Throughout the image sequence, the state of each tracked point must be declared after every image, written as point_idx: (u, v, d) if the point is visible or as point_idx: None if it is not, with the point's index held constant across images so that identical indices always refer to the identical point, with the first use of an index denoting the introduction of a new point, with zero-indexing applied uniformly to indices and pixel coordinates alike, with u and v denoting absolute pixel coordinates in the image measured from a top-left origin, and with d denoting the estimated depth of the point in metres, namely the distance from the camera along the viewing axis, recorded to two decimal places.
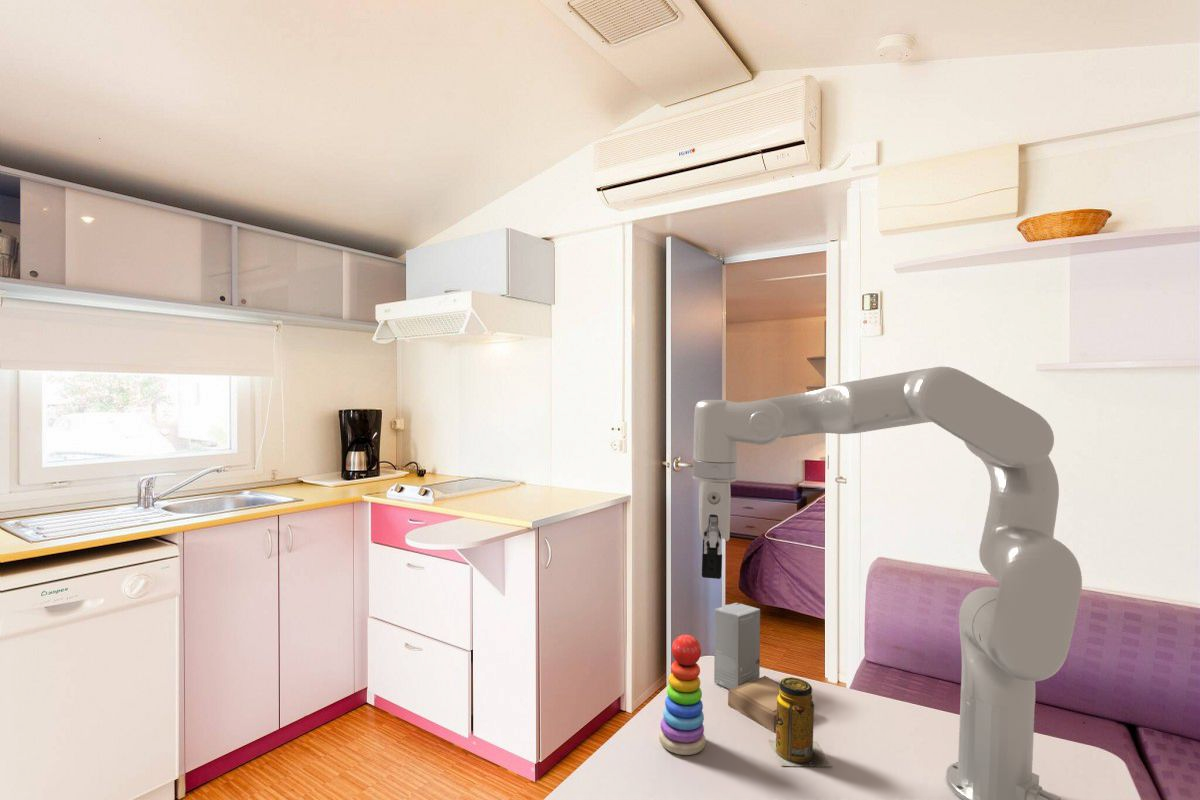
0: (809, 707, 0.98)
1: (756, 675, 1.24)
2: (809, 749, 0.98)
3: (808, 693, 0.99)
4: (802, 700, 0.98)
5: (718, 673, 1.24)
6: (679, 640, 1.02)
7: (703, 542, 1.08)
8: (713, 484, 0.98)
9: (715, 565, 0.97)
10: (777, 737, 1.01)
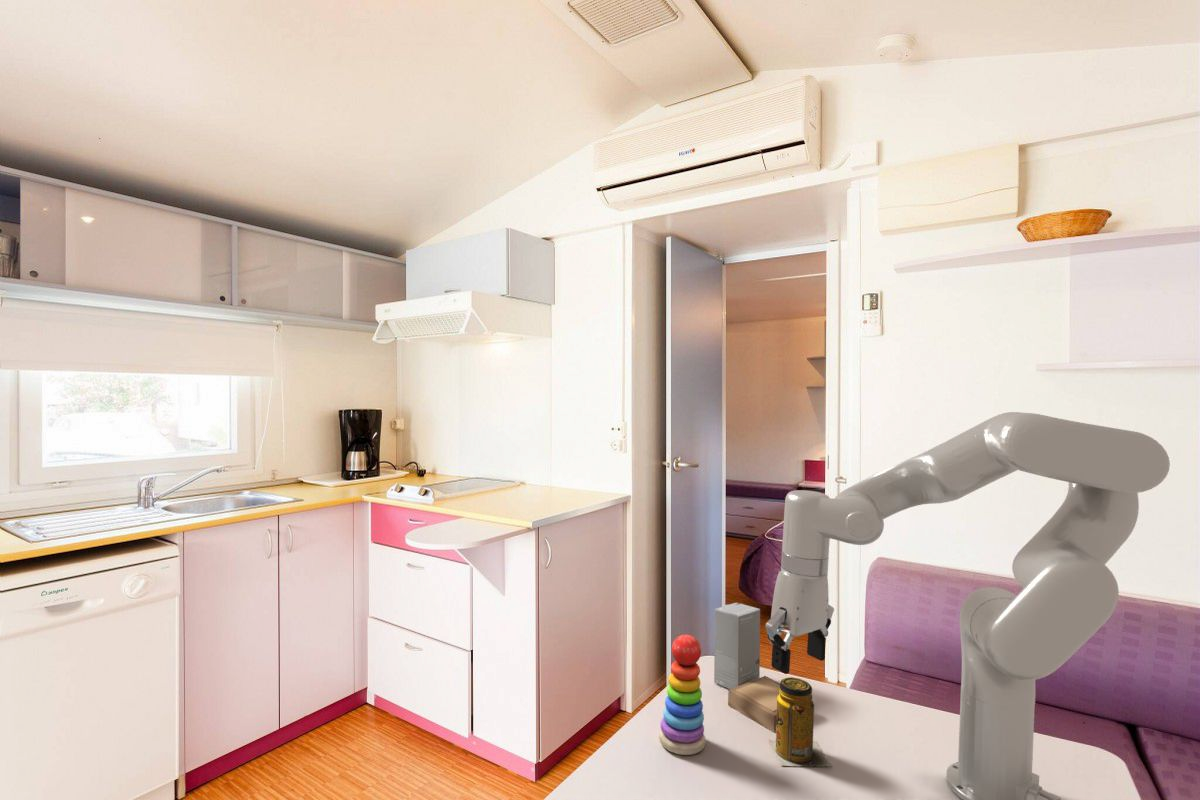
0: (809, 707, 0.99)
1: (756, 675, 1.24)
2: (809, 749, 0.98)
3: (808, 692, 0.99)
4: (802, 700, 0.98)
5: (718, 673, 1.24)
6: (679, 640, 1.02)
7: (789, 653, 0.97)
8: None
9: None
10: (777, 737, 1.01)
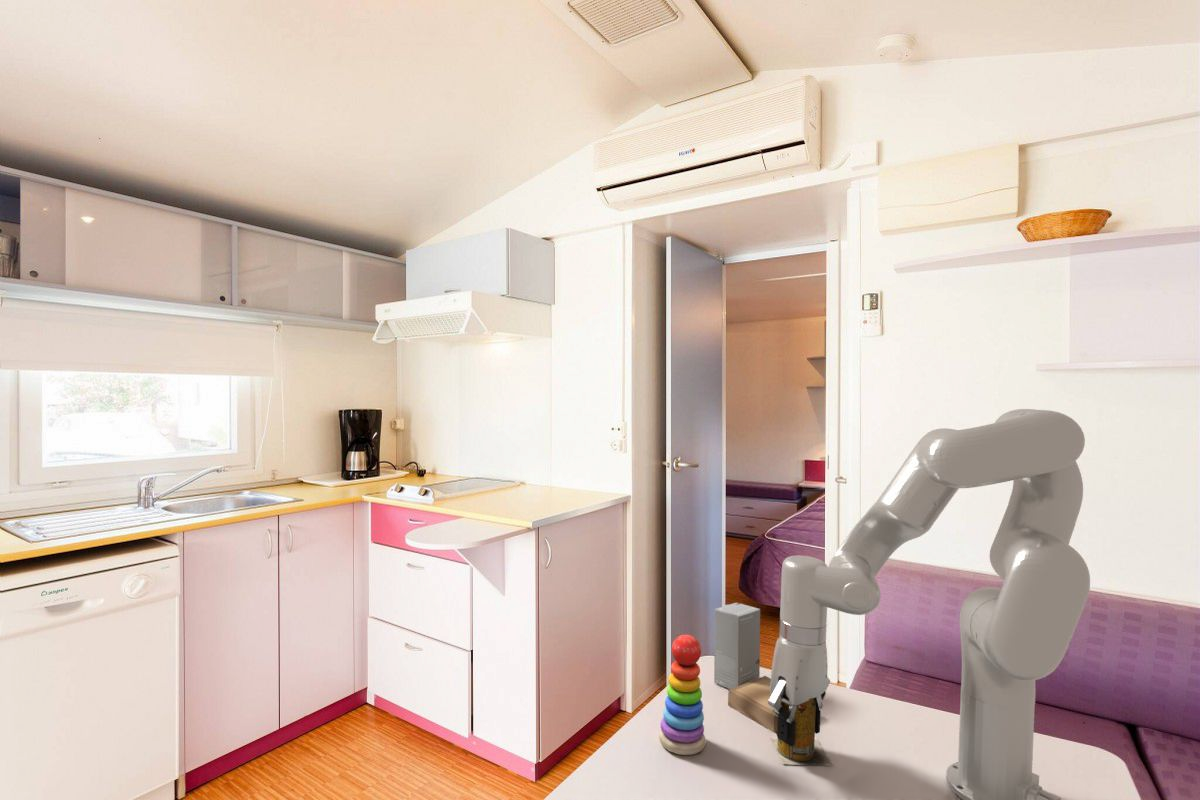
0: (810, 705, 0.99)
1: (756, 675, 1.24)
2: (811, 747, 0.99)
3: None
4: None
5: (718, 673, 1.24)
6: (679, 640, 1.02)
7: (794, 726, 0.98)
8: None
9: None
10: None
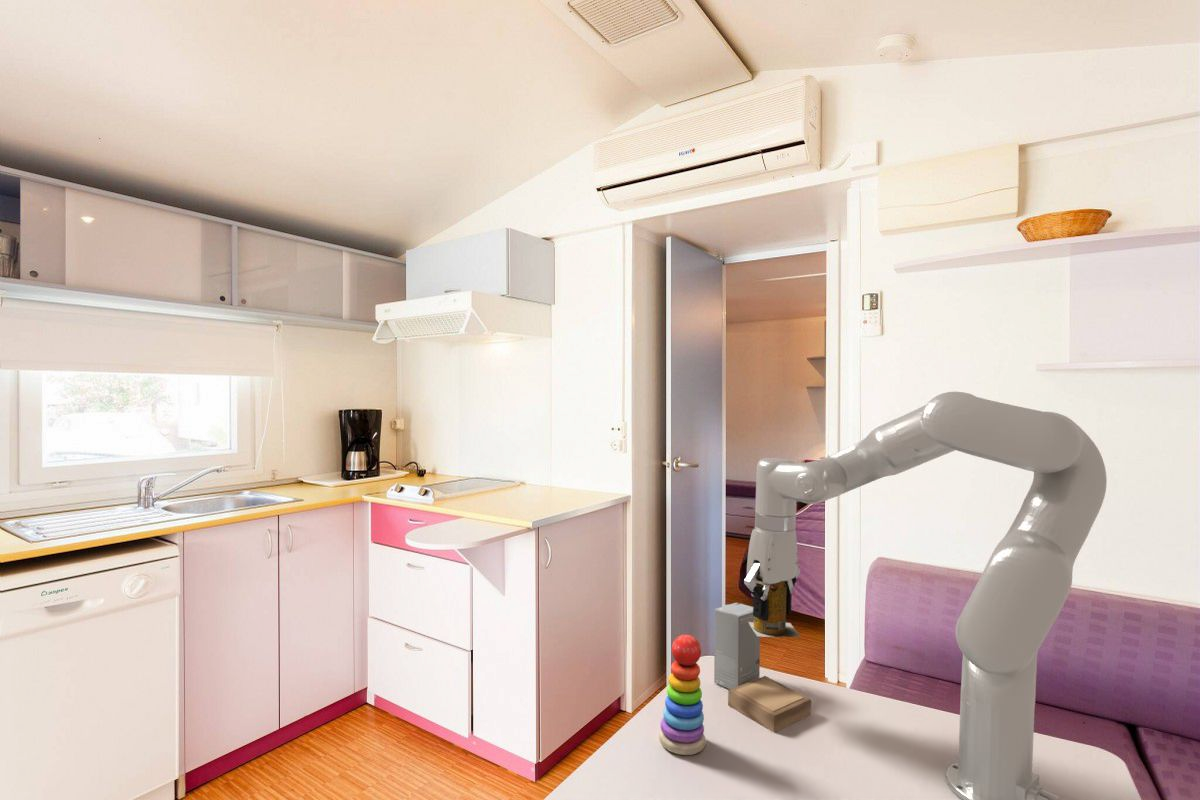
0: (781, 586, 1.12)
1: (756, 675, 1.24)
2: (782, 623, 1.12)
3: None
4: None
5: (718, 673, 1.24)
6: (679, 640, 1.02)
7: (767, 603, 1.11)
8: None
9: None
10: None
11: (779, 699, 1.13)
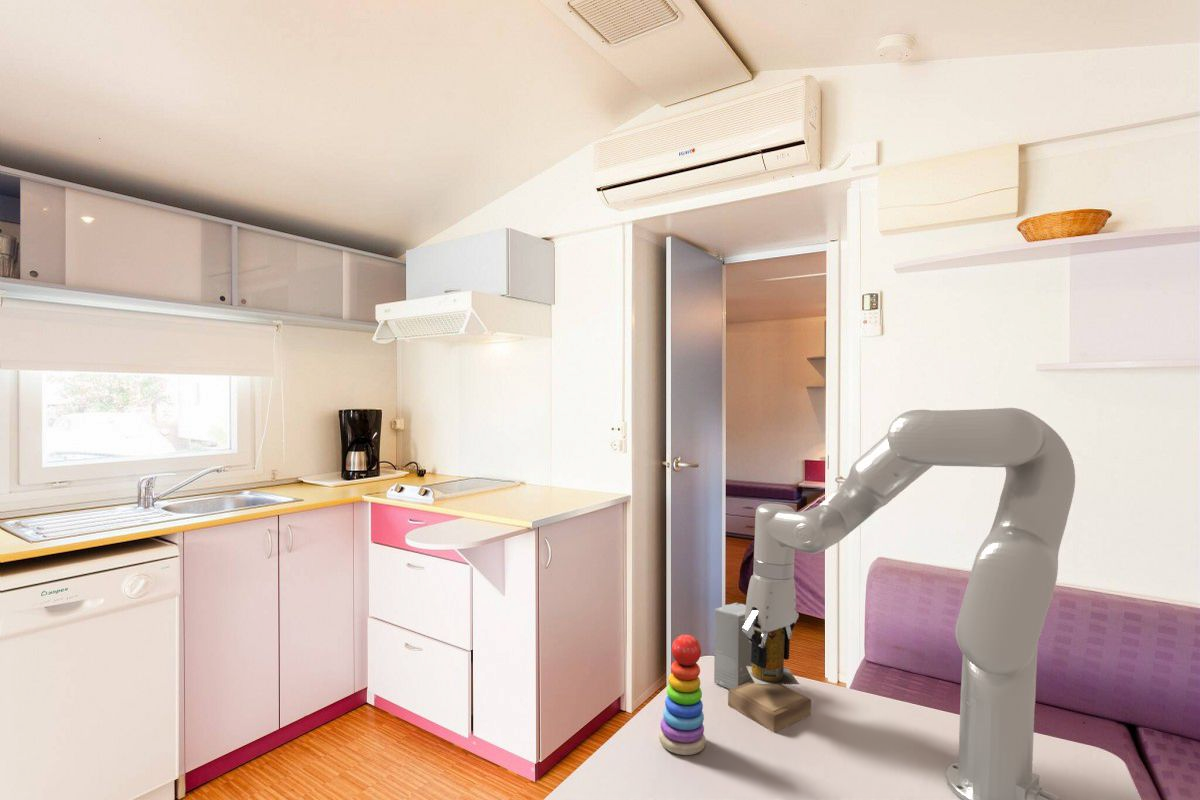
0: (780, 633, 1.13)
1: None
2: (780, 670, 1.13)
3: None
4: None
5: (718, 673, 1.24)
6: (679, 640, 1.02)
7: (765, 650, 1.11)
8: None
9: None
10: None
11: (779, 699, 1.13)
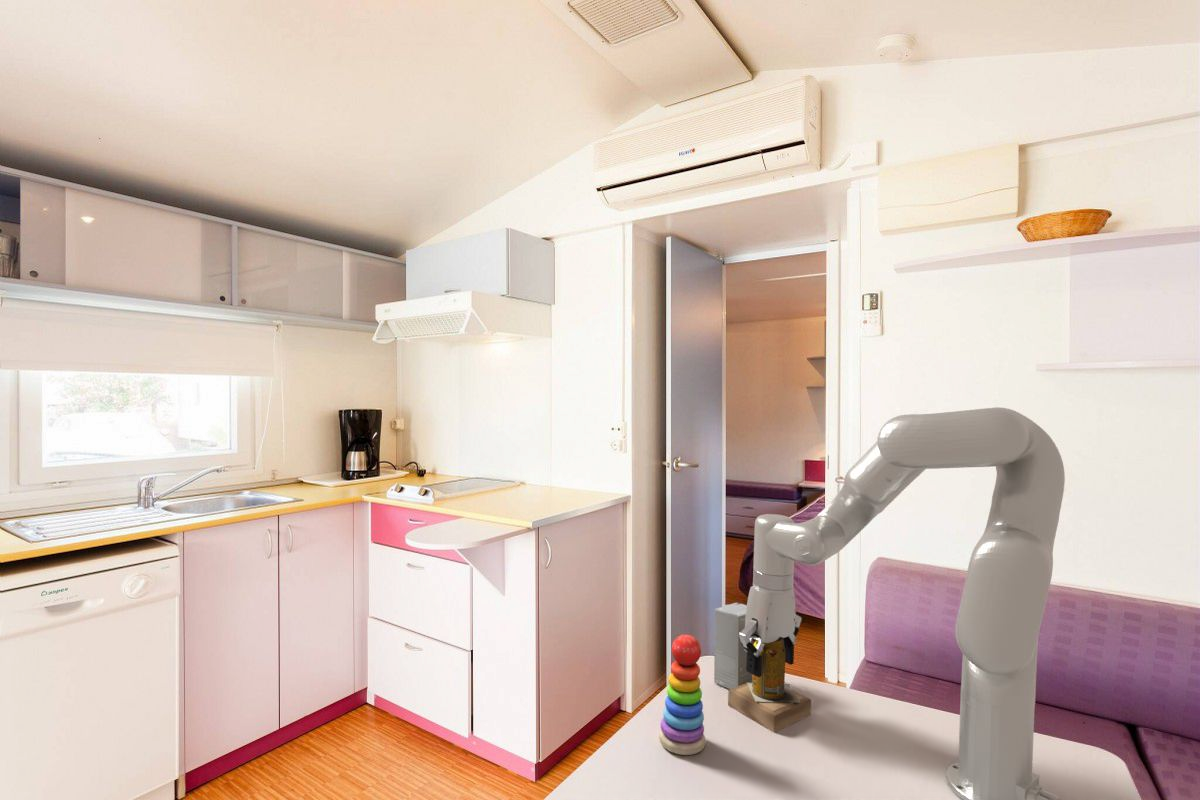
0: (780, 651, 1.12)
1: None
2: (781, 687, 1.12)
3: (780, 638, 1.13)
4: (774, 645, 1.12)
5: (718, 673, 1.24)
6: (679, 640, 1.02)
7: (761, 659, 1.11)
8: None
9: None
10: (753, 678, 1.15)
11: None
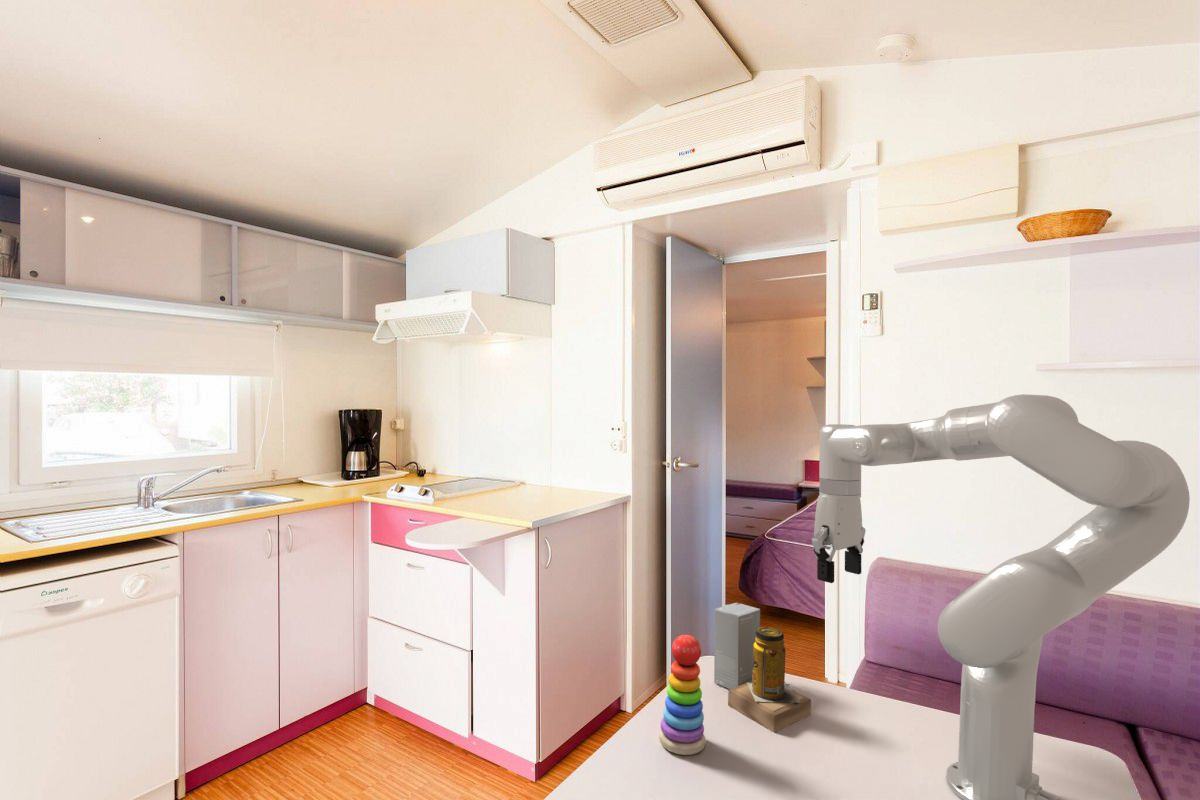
0: (780, 651, 1.12)
1: None
2: (781, 687, 1.12)
3: (780, 638, 1.13)
4: (774, 645, 1.12)
5: (718, 673, 1.24)
6: (679, 640, 1.02)
7: None
8: None
9: None
10: (753, 678, 1.15)
11: None
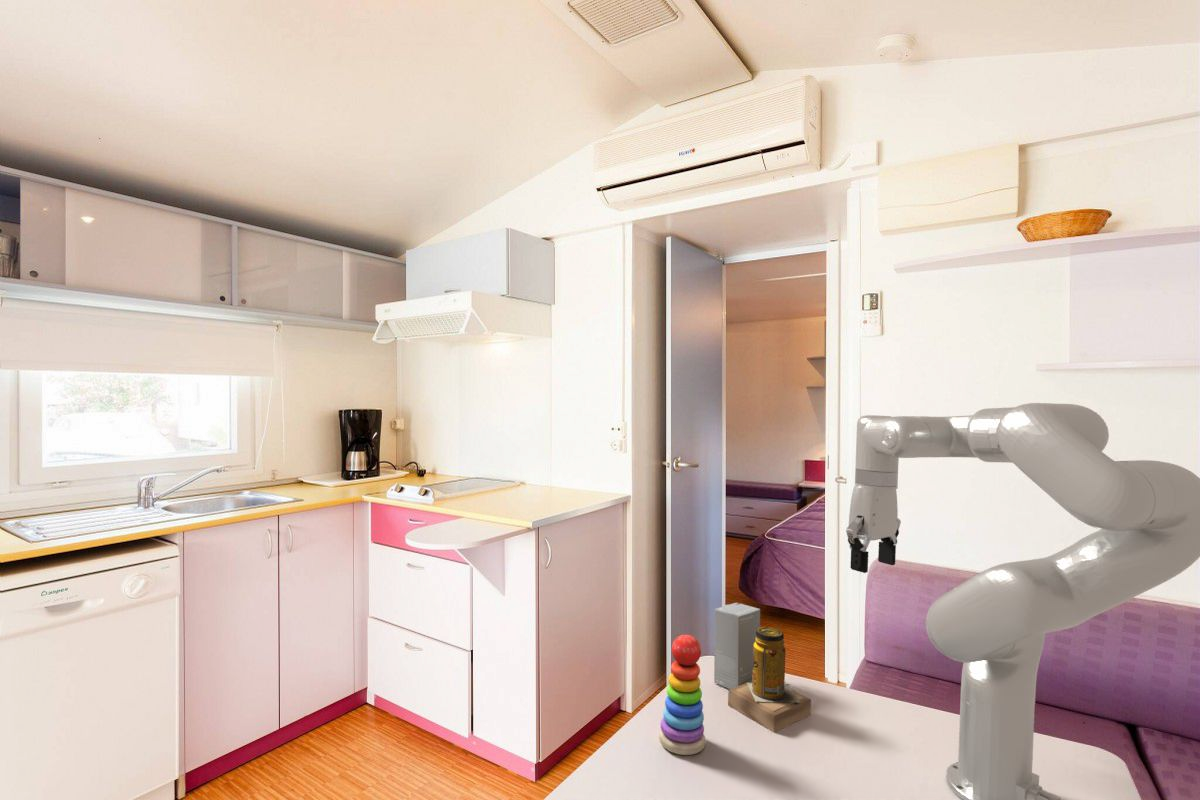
0: (780, 651, 1.12)
1: None
2: (781, 687, 1.12)
3: (780, 638, 1.13)
4: (774, 645, 1.12)
5: (718, 673, 1.24)
6: (679, 640, 1.02)
7: (867, 555, 1.11)
8: None
9: None
10: (753, 678, 1.15)
11: None
